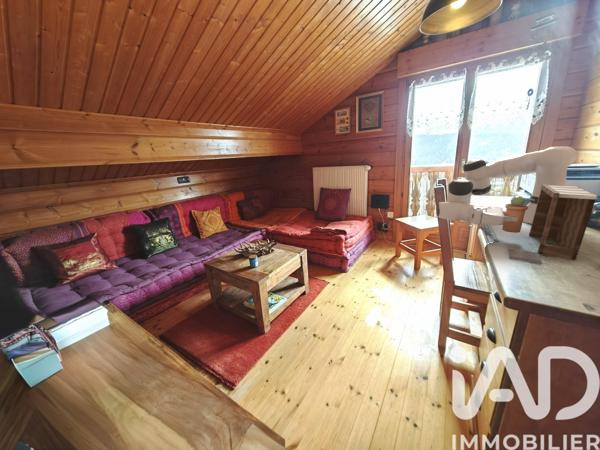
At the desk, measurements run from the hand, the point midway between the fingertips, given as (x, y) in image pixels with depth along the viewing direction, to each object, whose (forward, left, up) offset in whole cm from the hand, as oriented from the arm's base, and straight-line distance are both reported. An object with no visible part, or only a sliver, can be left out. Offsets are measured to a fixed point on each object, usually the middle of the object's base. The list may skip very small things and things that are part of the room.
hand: (516, 217), depth 100 cm
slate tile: (+18, +2, -11) cm, 21 cm away
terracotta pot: (0, -1, -6) cm, 6 cm away
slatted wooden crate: (0, +11, -11) cm, 15 cm away
